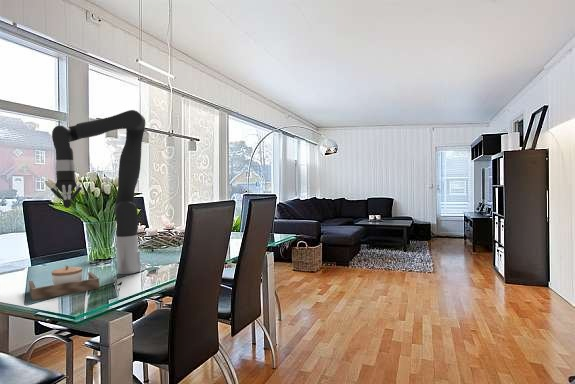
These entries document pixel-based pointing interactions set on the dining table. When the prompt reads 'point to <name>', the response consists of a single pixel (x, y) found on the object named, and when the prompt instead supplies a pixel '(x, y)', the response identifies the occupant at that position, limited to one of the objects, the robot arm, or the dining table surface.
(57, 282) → the lidded jar
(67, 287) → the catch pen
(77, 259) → the dining table surface
